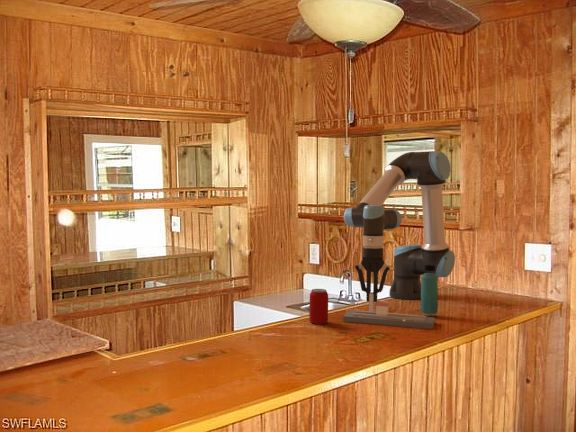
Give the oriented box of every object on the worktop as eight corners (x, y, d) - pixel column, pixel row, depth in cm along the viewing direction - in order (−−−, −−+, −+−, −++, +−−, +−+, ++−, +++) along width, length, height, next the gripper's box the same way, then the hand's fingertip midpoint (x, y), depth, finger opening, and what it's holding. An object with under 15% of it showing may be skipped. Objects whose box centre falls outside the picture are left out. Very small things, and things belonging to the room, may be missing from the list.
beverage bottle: (439, 318, 231) (440, 266, 230) (421, 318, 231) (423, 265, 230) (435, 314, 238) (436, 263, 237) (418, 314, 238) (419, 263, 237)
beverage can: (328, 320, 225) (328, 288, 225) (327, 325, 219) (328, 292, 218) (309, 320, 226) (310, 288, 225) (308, 324, 219) (309, 291, 219)
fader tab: (376, 314, 227) (377, 300, 227) (388, 315, 226) (389, 301, 226) (375, 316, 224) (375, 302, 224) (387, 317, 223) (387, 303, 222)
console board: (348, 315, 234) (349, 308, 234) (434, 322, 224) (434, 315, 224) (343, 321, 225) (343, 314, 224) (432, 329, 215) (432, 321, 215)
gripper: (353, 247, 223) (352, 311, 225) (389, 249, 219) (387, 314, 221) (357, 245, 230) (356, 307, 232) (392, 246, 226) (390, 309, 228)
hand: (371, 310), depth 226 cm, fingers closed
